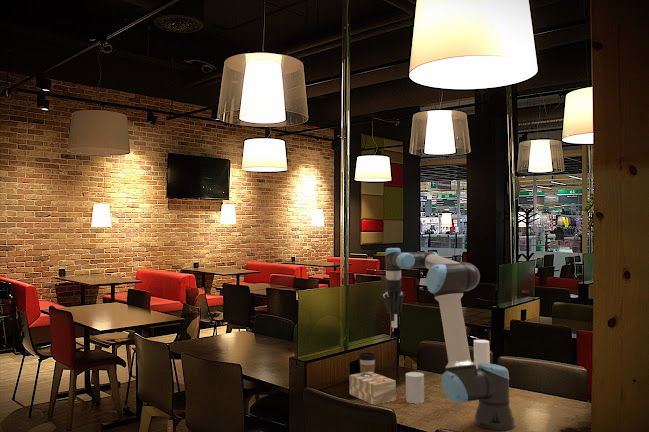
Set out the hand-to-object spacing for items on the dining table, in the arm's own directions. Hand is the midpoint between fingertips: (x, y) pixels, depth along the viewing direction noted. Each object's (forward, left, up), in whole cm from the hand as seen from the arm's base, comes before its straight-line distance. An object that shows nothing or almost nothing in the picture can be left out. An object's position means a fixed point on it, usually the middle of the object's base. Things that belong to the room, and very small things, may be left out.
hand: (394, 327), depth 272 cm
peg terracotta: (-12, +18, -29) cm, 36 cm away
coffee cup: (+14, +6, -30) cm, 34 cm away
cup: (-22, +5, -30) cm, 37 cm away
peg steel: (-2, +18, -29) cm, 34 cm away
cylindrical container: (-32, -27, -30) cm, 51 cm away
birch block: (-7, +18, -30) cm, 36 cm away
